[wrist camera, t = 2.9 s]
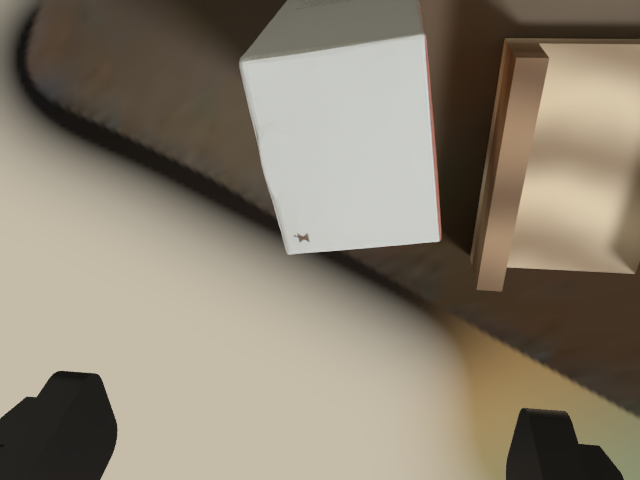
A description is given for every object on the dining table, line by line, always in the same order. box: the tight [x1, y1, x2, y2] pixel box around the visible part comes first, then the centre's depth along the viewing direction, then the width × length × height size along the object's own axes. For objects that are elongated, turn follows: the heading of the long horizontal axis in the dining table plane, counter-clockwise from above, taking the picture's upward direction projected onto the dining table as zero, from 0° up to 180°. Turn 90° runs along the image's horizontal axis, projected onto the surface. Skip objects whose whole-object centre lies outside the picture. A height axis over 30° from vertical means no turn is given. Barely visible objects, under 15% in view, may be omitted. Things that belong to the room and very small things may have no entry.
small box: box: [239, 0, 441, 255], centre depth 25 cm, size 8×6×13 cm
